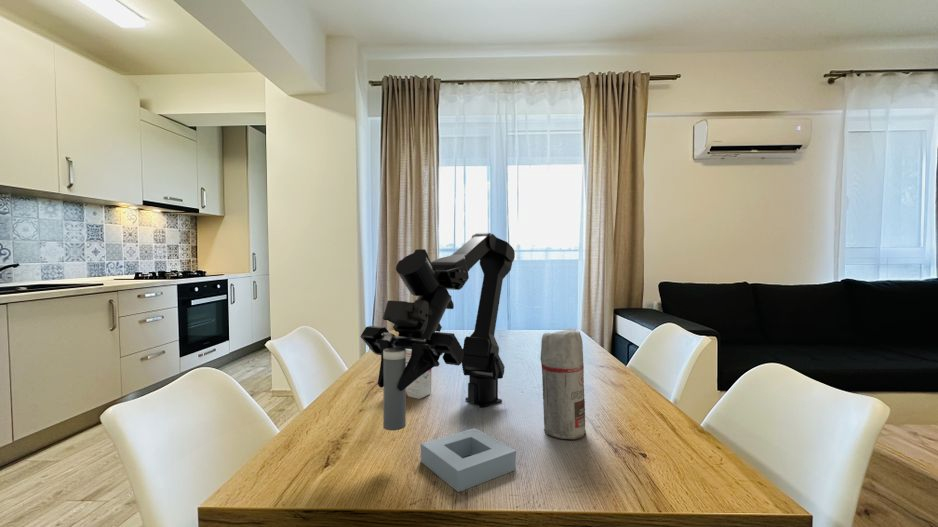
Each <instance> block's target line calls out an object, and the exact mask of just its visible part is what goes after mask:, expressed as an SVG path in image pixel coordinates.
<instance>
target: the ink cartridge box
mask: <svg viewBox="0 0 938 527" xmlns="http://www.w3.org/2000/svg"><path fill="white" fill-rule="evenodd" d="M411 351H412V350H410V349H406V366H407V364H408V362H409V360H410V357H411ZM429 395H432V368H431V369H430V370H429V371H427V372H426V373H424V374H423V375H421V376H420V377H419V378H417V379H416V380H415V381H414V382H412V383H411V384H410V385H409V386H407V387H406V397H410V398H414V399H418V400H420V399H423V398H424V397H427V396H429Z"/></svg>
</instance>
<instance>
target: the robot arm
mask: <svg viewBox="0 0 938 527" xmlns="http://www.w3.org/2000/svg"><path fill="white" fill-rule="evenodd" d="M515 256H516V253H515V249H514V247H513V246H512V245H511V244H510V243H509V242H508V241H505V240H503V239H501V238H499V237H497V236H496V235H495V234H494V233H491V232H477V233H475V234H472V236H471V238H470V239H469V240H468V241H467V242H465V243H464V244H463V245H462V246H461V247H459V248H458V249H457V250H456V251H454V252H453V253H452V254H451V255H447V256H443V257H439V258H437V259H435V260H433V261H431V260H430V258H429V255H428V252H427V251H426V249H425V248H424V249H423V248H421V249H415V250H414V252H413V253H410V254H408V255H406V256H405V257H404V258H402V259H401V260H399V261H398V262H397V264H396V267H395V270H396V273H397V275H398V276H399V277H400V279H401V280H402V282H403V283H404V285H405V287H406V289H407V291H409V293H410V295H412V296H415V297H417V298H416V299H415V300H414V301H413V302H411V301H410V302H409V301H404V300H387V301H386V305H385V310H384V313H383V315H382V320H384V321H387V322H390V323H391V324H394V325H393V326H392V329H393V330H394V331H395V332H396V333H398V334H397V335H395V334H393V333H391V332H390V331H389V330H388V329H387V327H385V326H375V325H374V326H373V325H368V326H365V328H364V329H363V332H362V333H361V334H360V338H361V340H362V341H363V342H364V343H365V345H367V347H368V348H369V350H370V351H372V352H373V353H374V354H375V355H376V356H380V366H379V372H378V380H377V386H378V387H379V388H383V371H384V358H383V350H384V349H387V348H404V349H410V350H412V351H411V357H410V360H409V362H408V364H407V366H406V368H405V370H404V372H403V374H402V376H401V378H400V381H399V383H398V386H397V389H398V390H399V391H403V390H404V389H405V388H406V387H407V386H409V385H410V384H411V383H412V382H414V381H415V380H416V379H417V378H419V377H420V376H421V375H423V374H424V373H426V372H427V371H429V370H430V369H431V370H432V369H433V368H436V367H438V368H439V367H440V361H439V359H440V358H441V356H442V360H443V361H444V363H445V364H446V365H451V366H457V367H458V366H461V368H462V371H463V372H462V373H463V376H469V378H468V379H469V382H468V383H467V397H465V399H464V400H465V401H467V402H469V403H471V404H473V405H475V406H477V407H479V408H484V407H488V406H492V405H496V404H499V403H501V404H502V403H503V399H501V398H499V387H498V385H499V380H500V379H503V378H504V374H505V365H504V363H503V361H502V359H501V356H500V355H499V354H500V353H499V352H500V347H499V345H498V342H497V340H496V338H495V333H496V332H495V331H496V324H497V320H498V312H499V306H500V301H501V294H502V286H503V282H504V279H505V278H506V276H508V275H509V273H510V272H511V269H512V267H513V262H514V261H515V258H516V257H515ZM477 263H479V266H480V269H481V271H482V273H483V279H482V283H481V284H482V285H481V290H480V297H479V302H478V306H477V307H478V308H477V313H476V318H475V319H476V320H475V325H474V331H473V332H472V333H471V335H470V336H466V337H465V338H464V339H463V347H462V345H461V343H460V342H459V340H458V338H457V337H456V335H455V333H453V332H451V333H450V332H443V331H442V329H443V326H442V325H441V320H442V318H443V316H444V314H445V312H446V310H453V309H455V308H454V306H455V305H454V302H453V300H452V295H450V293H449V291H448V290H452V291H453V290H456V291H459V290H461V289H463V288H464V286H465V285H466V283H467V281H468V280H469V277H470V276H469V271H470V270H471V269H472V268H473V267H474V266H475V265H476V264H477Z"/></svg>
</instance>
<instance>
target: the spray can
mask: <svg viewBox="0 0 938 527" xmlns="http://www.w3.org/2000/svg"><path fill="white" fill-rule="evenodd" d="M583 347H584V346H583V337H582V335H581V331H578V330H576V329H575V328H567V329H565V330H560V331H559V330H558V331H554V332H547V333H543V334H542V336H541V350H540V356H539V357H540V359H539V360H540V364H541V376H542V377H541V379H542V381H541V383H542V404H543V425H544V427H543V428H544V429H543V430H544V433H545V434H547V435H548V436H551V437H553V438H557V439H563V440H577V439H580V438H582V437H584V435H585V434H586V433H587V431H586V407H585V406H586V404H585V403H586V401H585V400H586V399H585V383H584V382H585V379H584V376H585V375H584V374H585V370H584V369H585V368H584V367H585V366H584V364H585V363H584V351H583V349H584V348H583Z"/></svg>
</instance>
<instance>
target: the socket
mask: <svg viewBox="0 0 938 527" xmlns="http://www.w3.org/2000/svg"><path fill="white" fill-rule="evenodd" d="M420 463H422V464H423V465H424V466H426V467H427V468H428V469H429V470H431V471H432V472H433V473H434V474H435V475H437V476H438V477H439V478H440V479H441V480H443V481H444V482H445V483H446V484H448V486H450V487H451V488H453V489H454V490H455V492H457V493H460V492H463V491H465V490H467V489H471V488H472V487H474V486H477V485H480V484H483V483H486V482H488V481H491V480H492V479H493V480H494V479H495V478H499V477H500V476H503V475H506V474H508V473H512V472H513V471H516V469H517V467H516V466H517V451H516V449H514V448H512V447H510V446H508V445H506V444H505V443H503V442H501V441H499V440H497V439H496V438H494V437H492V436H489V435H488V434H486V433H484V431H483V432H482V431H480V430H479V429H477V428H475V427H473V428H470V429H466V430H464V431H460V432H455V433H453V434H448V435H446V436H442V437H439V438H434V439H431V440H426V441H424V442H421V443H420ZM459 491H460V492H459Z"/></svg>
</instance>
